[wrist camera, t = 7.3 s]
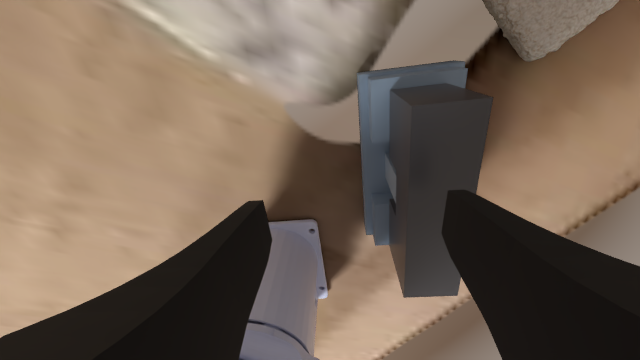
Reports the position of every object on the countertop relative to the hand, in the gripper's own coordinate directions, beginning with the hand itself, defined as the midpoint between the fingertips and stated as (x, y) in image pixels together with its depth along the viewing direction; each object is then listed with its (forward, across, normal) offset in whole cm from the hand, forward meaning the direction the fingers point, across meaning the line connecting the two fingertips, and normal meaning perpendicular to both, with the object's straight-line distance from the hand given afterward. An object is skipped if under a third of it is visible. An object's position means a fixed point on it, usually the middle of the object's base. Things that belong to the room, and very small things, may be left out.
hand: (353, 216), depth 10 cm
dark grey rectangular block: (+6, -4, +2) cm, 8 cm away
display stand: (+9, -4, +2) cm, 10 cm away
